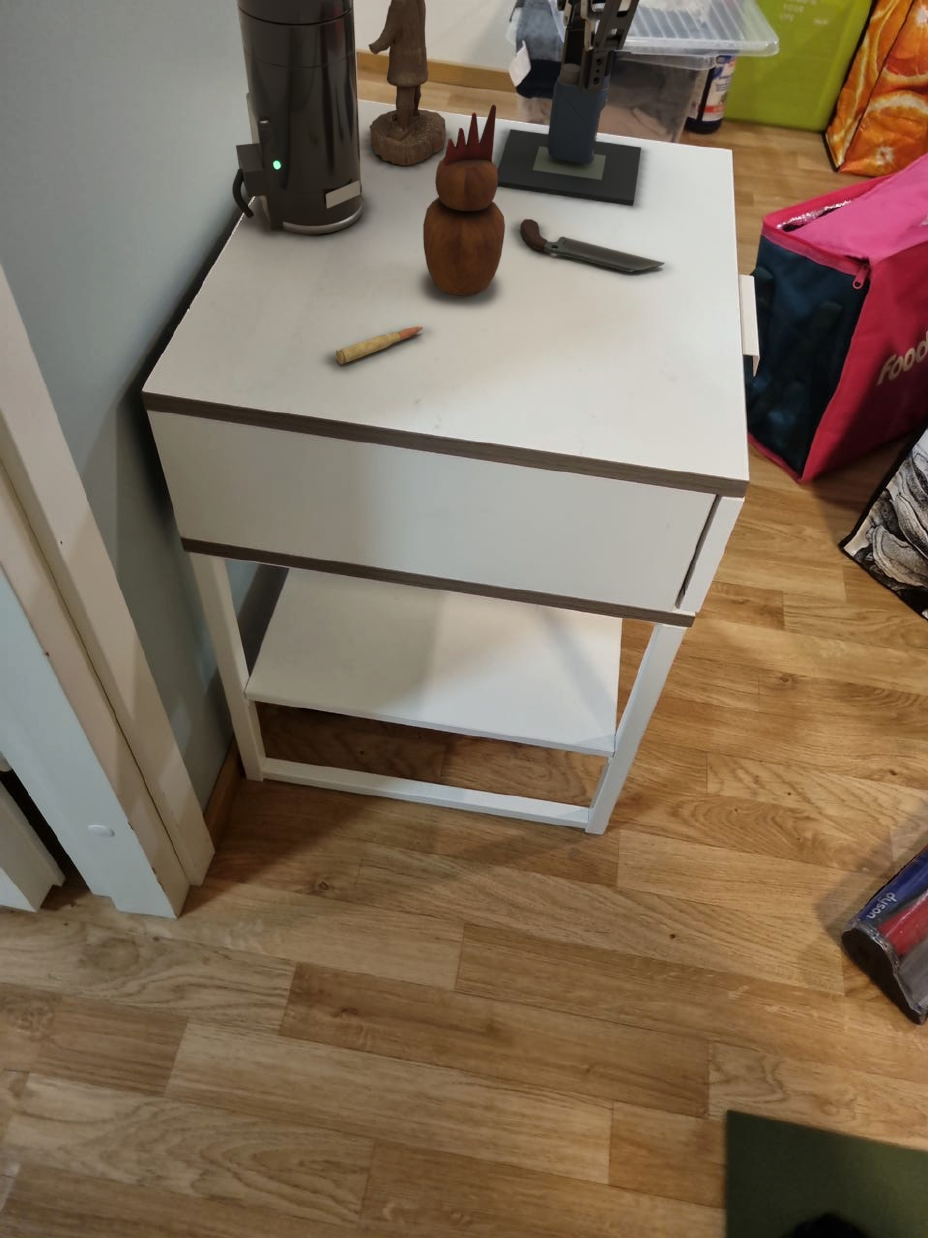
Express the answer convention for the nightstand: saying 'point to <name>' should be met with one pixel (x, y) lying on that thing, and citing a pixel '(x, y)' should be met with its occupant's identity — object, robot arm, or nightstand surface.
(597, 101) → the vaping device
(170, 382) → the nightstand surface
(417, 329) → the bullet
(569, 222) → the nightstand surface
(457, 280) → the wooden figurine
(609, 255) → the knife
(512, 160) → the mat
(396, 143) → the figurine
